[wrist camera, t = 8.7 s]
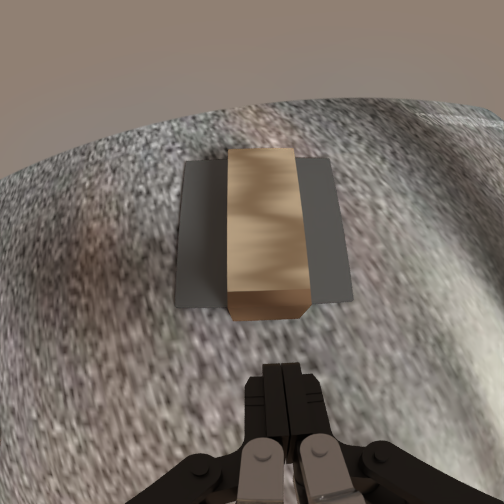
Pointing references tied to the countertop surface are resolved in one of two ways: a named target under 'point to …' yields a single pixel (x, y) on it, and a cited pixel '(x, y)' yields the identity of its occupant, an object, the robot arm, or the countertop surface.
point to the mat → (215, 235)
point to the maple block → (265, 237)
